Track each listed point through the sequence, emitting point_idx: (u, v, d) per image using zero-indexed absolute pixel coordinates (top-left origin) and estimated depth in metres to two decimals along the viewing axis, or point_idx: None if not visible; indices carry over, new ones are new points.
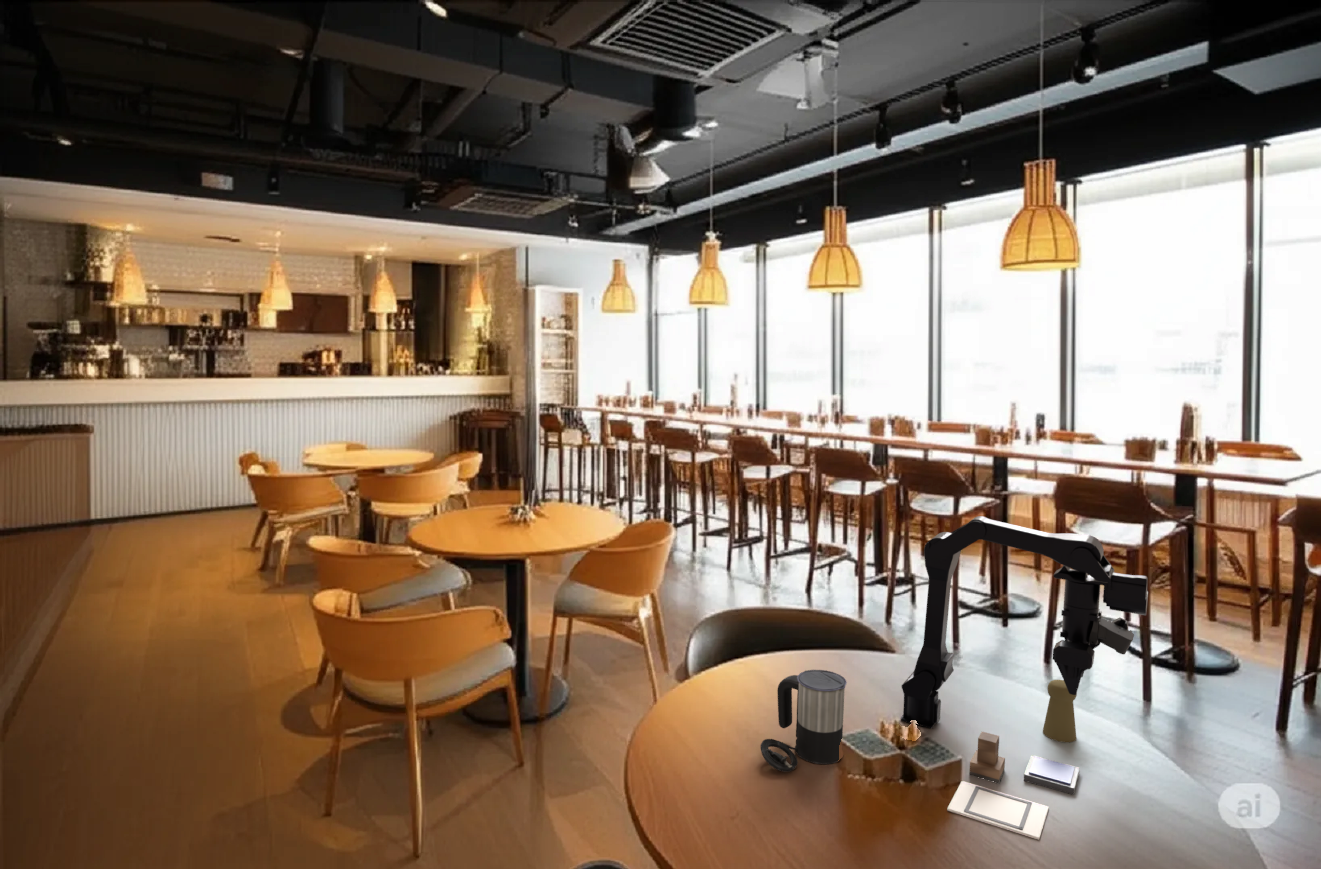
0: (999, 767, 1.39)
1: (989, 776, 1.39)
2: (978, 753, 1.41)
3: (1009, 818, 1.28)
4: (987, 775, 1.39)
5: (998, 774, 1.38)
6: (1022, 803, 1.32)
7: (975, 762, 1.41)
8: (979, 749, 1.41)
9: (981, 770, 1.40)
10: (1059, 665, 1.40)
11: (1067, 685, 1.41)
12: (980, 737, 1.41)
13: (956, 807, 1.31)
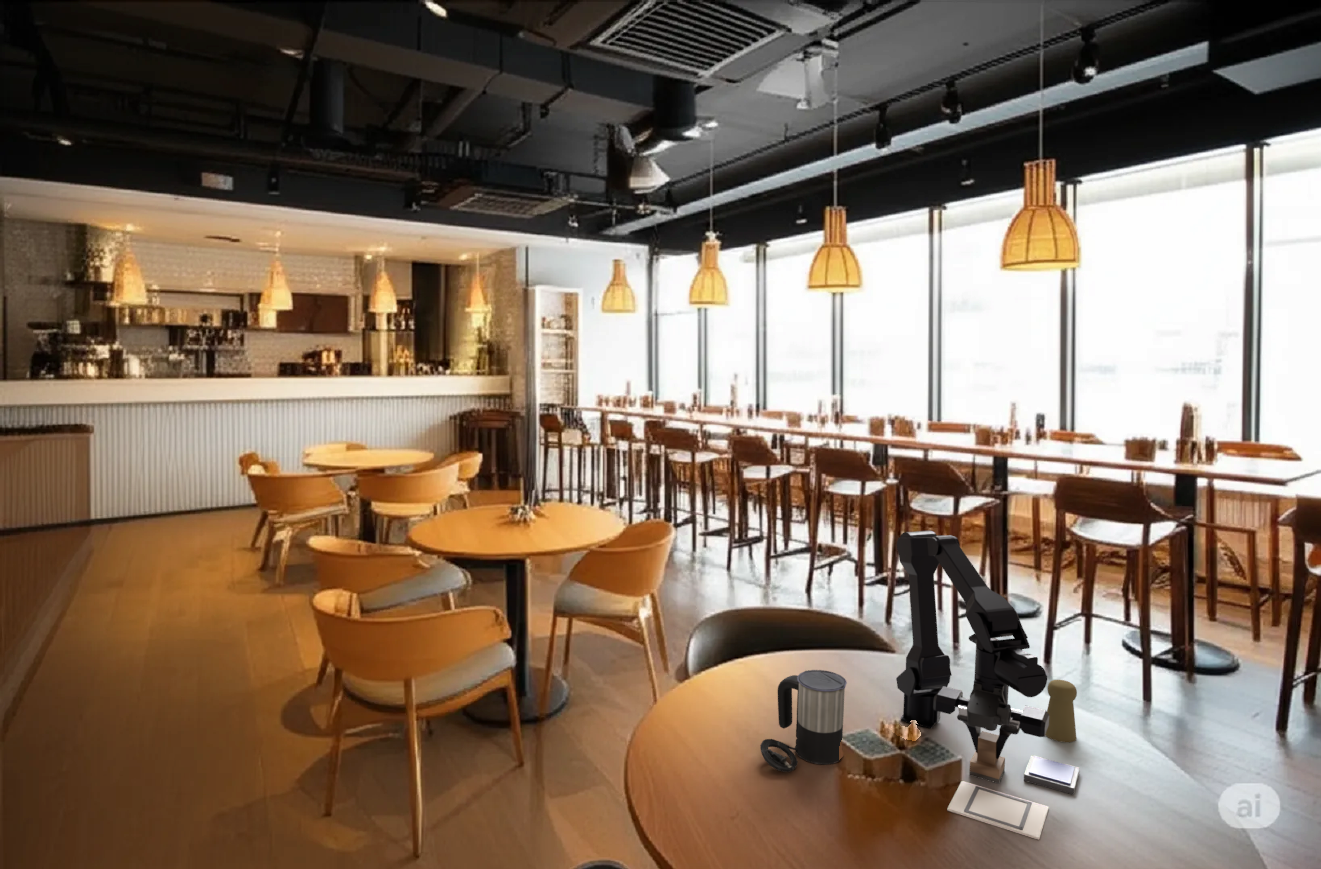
0: (999, 767, 1.39)
1: (989, 776, 1.39)
2: (978, 753, 1.41)
3: (1009, 818, 1.28)
4: (987, 775, 1.39)
5: (998, 774, 1.38)
6: (1022, 803, 1.32)
7: (975, 762, 1.41)
8: (979, 749, 1.41)
9: (981, 770, 1.40)
10: None
11: None
12: (980, 737, 1.41)
13: (956, 807, 1.31)
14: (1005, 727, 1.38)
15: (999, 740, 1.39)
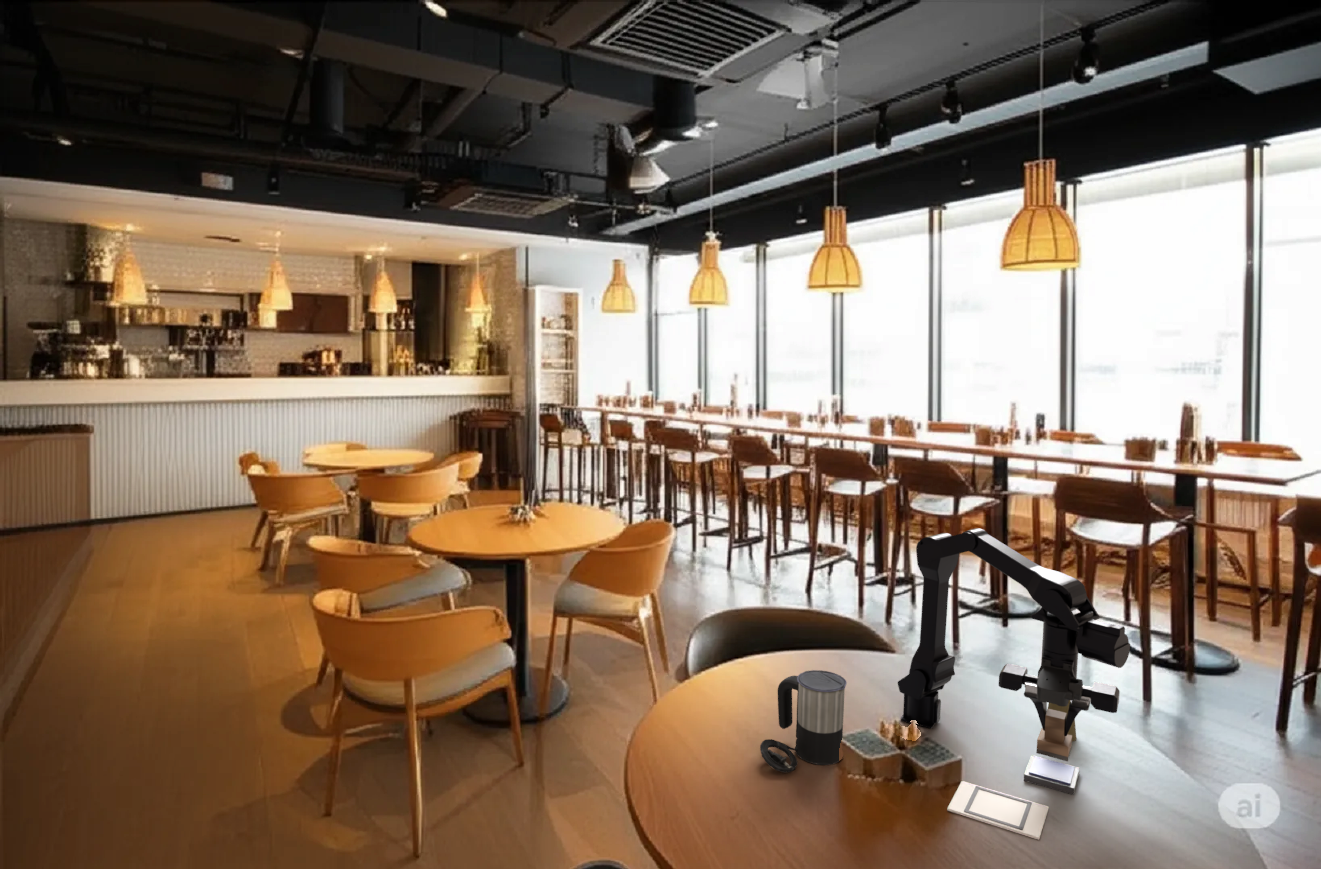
0: (1068, 744, 1.37)
1: (1057, 753, 1.37)
2: (1045, 730, 1.39)
3: (1009, 818, 1.28)
4: (1055, 752, 1.37)
5: (1067, 751, 1.36)
6: (1022, 803, 1.32)
7: (1042, 739, 1.39)
8: (1046, 726, 1.39)
9: (1049, 747, 1.38)
10: None
11: None
12: (1047, 714, 1.39)
13: (956, 807, 1.31)
14: (1075, 703, 1.35)
15: (1068, 717, 1.37)
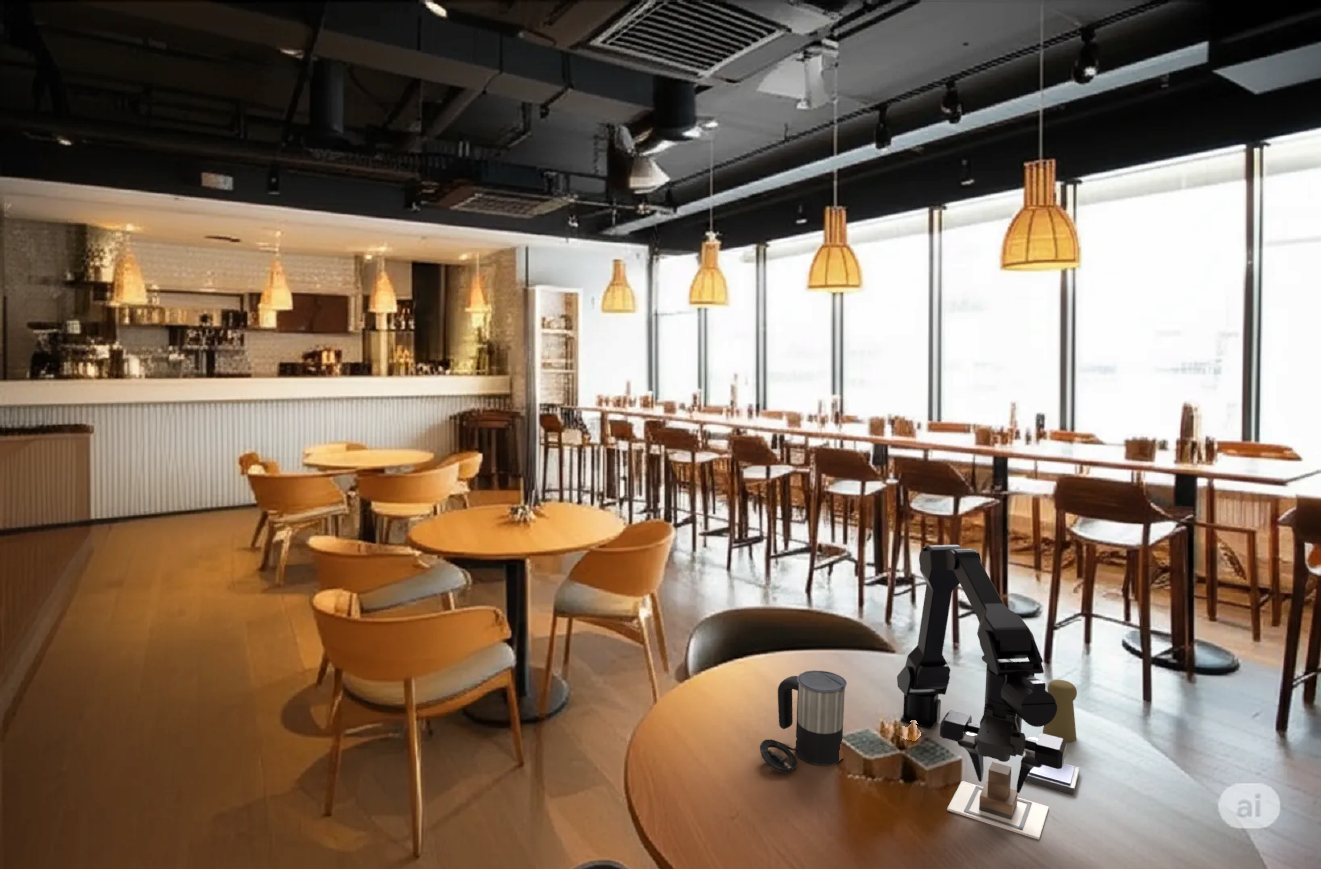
0: (1012, 801, 1.28)
1: (1001, 811, 1.28)
2: (989, 786, 1.30)
3: None
4: (998, 810, 1.28)
5: (1011, 809, 1.27)
6: (1022, 803, 1.32)
7: (985, 796, 1.29)
8: (990, 781, 1.29)
9: (992, 805, 1.29)
10: None
11: None
12: (991, 768, 1.30)
13: (956, 807, 1.31)
14: (1027, 759, 1.25)
15: (1020, 773, 1.27)
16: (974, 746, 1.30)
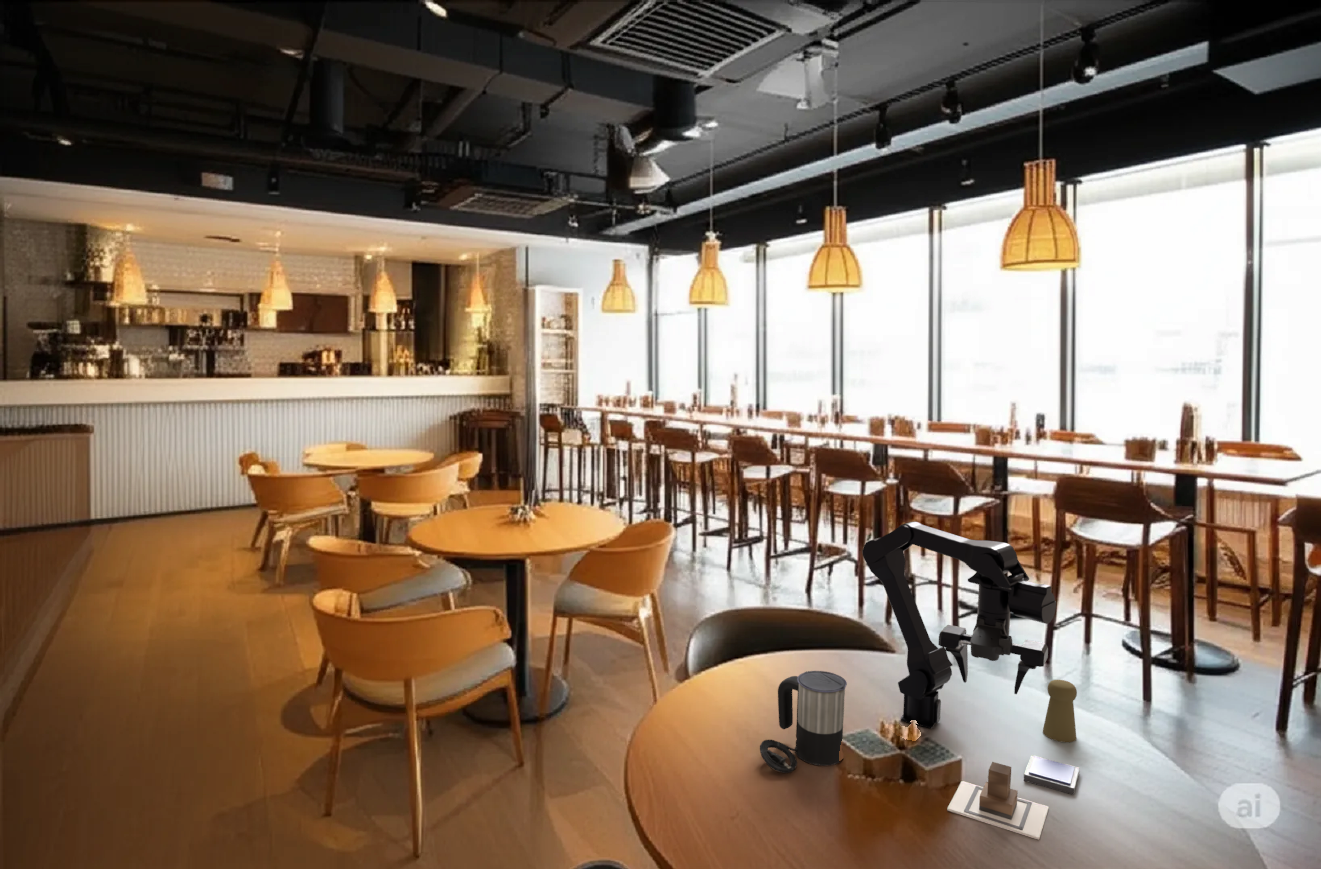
0: (1012, 801, 1.28)
1: (1001, 811, 1.28)
2: (989, 786, 1.30)
3: None
4: (998, 810, 1.28)
5: (1011, 809, 1.27)
6: (1022, 803, 1.32)
7: (985, 796, 1.29)
8: (990, 781, 1.29)
9: (992, 805, 1.29)
10: None
11: None
12: (991, 768, 1.30)
13: (956, 807, 1.31)
14: (1023, 663, 1.44)
15: (1017, 676, 1.46)
16: (959, 650, 1.50)
